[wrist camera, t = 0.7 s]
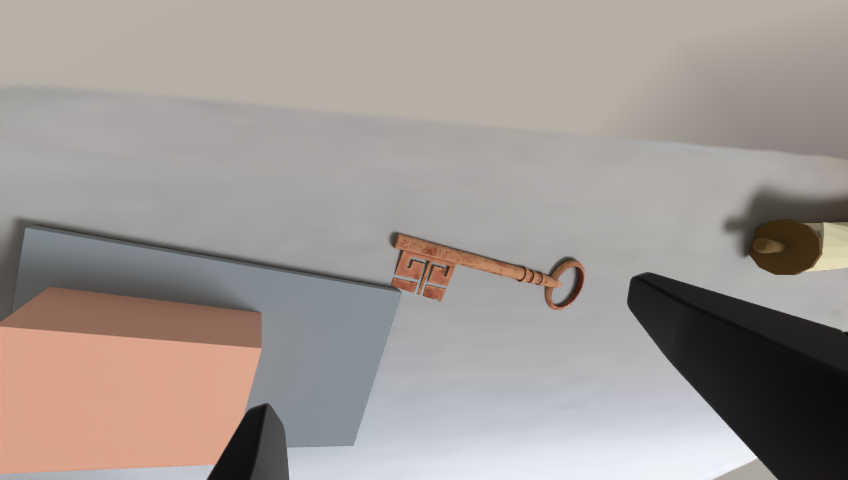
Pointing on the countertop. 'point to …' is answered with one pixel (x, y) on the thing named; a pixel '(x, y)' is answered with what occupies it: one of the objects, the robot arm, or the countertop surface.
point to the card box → (121, 381)
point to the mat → (249, 291)
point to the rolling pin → (800, 246)
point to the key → (470, 260)
